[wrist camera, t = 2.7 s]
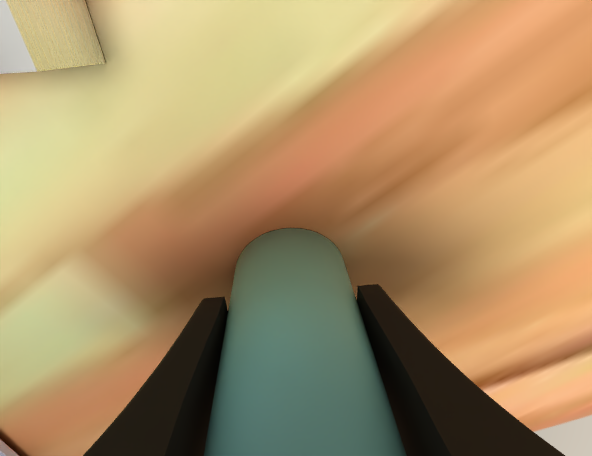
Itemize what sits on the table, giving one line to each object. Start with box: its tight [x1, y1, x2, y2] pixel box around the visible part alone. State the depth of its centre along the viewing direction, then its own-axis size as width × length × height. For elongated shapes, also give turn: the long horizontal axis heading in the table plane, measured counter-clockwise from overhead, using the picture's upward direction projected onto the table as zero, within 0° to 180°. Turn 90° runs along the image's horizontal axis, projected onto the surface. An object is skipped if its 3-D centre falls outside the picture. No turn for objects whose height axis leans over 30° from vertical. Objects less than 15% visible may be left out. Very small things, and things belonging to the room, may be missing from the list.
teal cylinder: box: [204, 228, 407, 456], centre depth 8 cm, size 4×4×7 cm
